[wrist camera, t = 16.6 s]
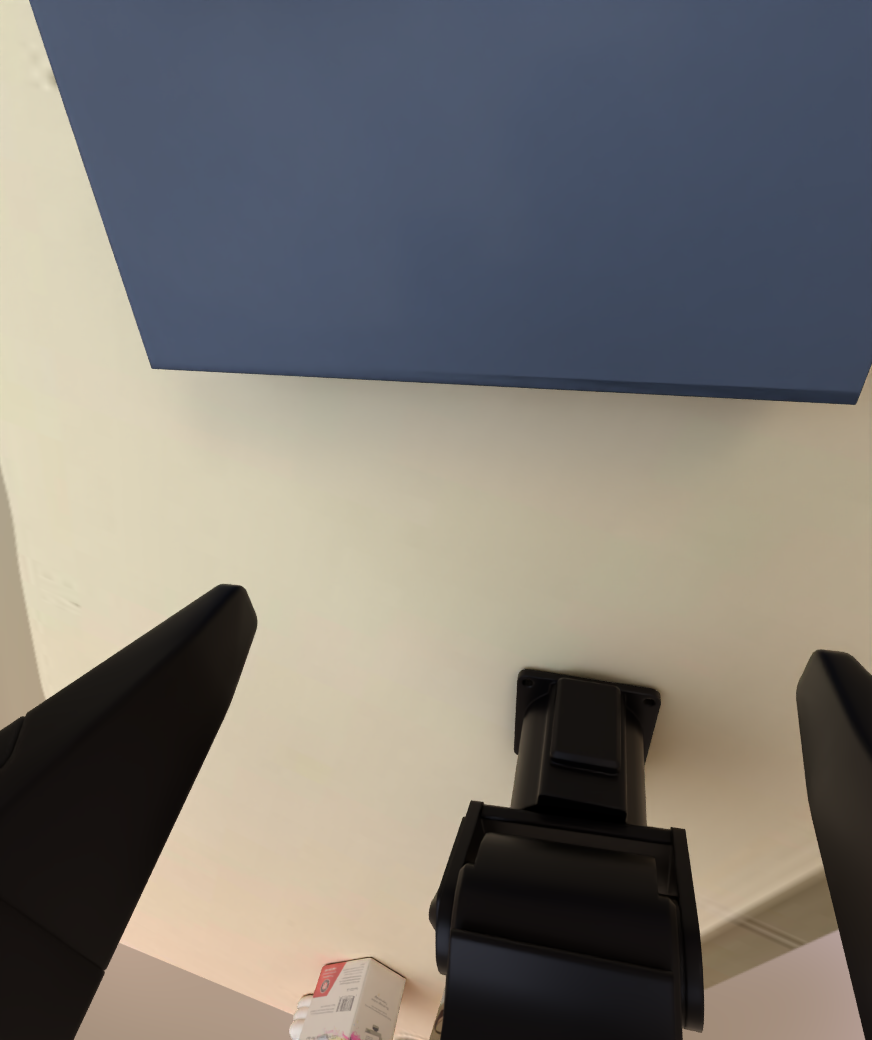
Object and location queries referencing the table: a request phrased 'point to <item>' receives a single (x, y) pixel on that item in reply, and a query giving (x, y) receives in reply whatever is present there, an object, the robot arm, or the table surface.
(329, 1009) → the ink cartridge box
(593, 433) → the table surface
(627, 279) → the book
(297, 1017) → the white layered disc
